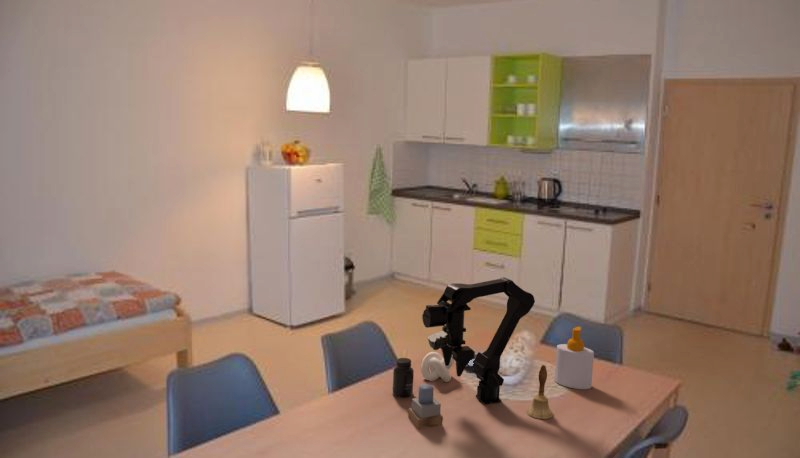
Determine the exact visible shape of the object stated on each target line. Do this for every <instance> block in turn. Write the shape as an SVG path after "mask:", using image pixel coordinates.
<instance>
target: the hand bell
mask: <svg viewBox="0 0 800 458" xmlns="http://www.w3.org/2000/svg"><path fill="white" fill-rule="evenodd" d="M547 379H548V371H547V366H546V365H544V364H542V365H541V366H540V369H539V372H538V383H539V387H538V394H536V395H535V396H534V397H533V400H532V403H531V406H530V407H528V408H527V409H526V413H527V415H528V416H529V417H532V418H534V419H539V420H549V419H552V418H553V417H554V413H553V410H551V408H550V406H549V399H548V397H547V396H546V395H545V387H546V386H545V385H546V382H547Z"/></svg>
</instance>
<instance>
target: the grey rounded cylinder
mask: <svg viewBox="0 0 800 458" xmlns="http://www.w3.org/2000/svg"><path fill="white" fill-rule="evenodd" d="M434 389H435V387H434V386H433V385H431V384H426V383H425V384H424V383H423V384H420V385H419V386H418V397H417V398H418V402H419V403H421V404H431V403H433V398H434Z"/></svg>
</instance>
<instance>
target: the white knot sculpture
mask: <svg viewBox="0 0 800 458" xmlns="http://www.w3.org/2000/svg"><path fill="white" fill-rule="evenodd" d="M452 357H453V355H452ZM452 357H451V360H450V363H449V365H448V366H446V365H445V362H444V358H443V355H441V354H440V353H439V352H437V351H430V352H428V353H427V354H425V356H423V359H422V361H421V366H420V372H421V375H422V377H423V379H424V380H427V381H428V382H429V381H430V382H434V381H436V380H437V379H440V378H441V380H442V381H443V382H445V383H449V382H450V381H451V378H452V376H451V373H450V371H449V370H450V369H451V367H452V366H453V365H454V362H455V360H454V359H453V358H452Z"/></svg>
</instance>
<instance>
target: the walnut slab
mask: <svg viewBox="0 0 800 458" xmlns="http://www.w3.org/2000/svg"><path fill="white" fill-rule="evenodd" d="M407 417H408V419H409V421H411V422H412V424H413V425H414V426H415V428H416V429H417V430H421V429H427V428H434V427H435V428H436V427H441V426H443V419H444V418H443V417H444V416H443V415H442V414H441V413H440V415H437V416H432V417H427V418H422V419H421V418H420V417H419V416H418V415H417V414H416V413H415V412H414V411H413V410H412V407H409V408H408V415H407Z"/></svg>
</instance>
